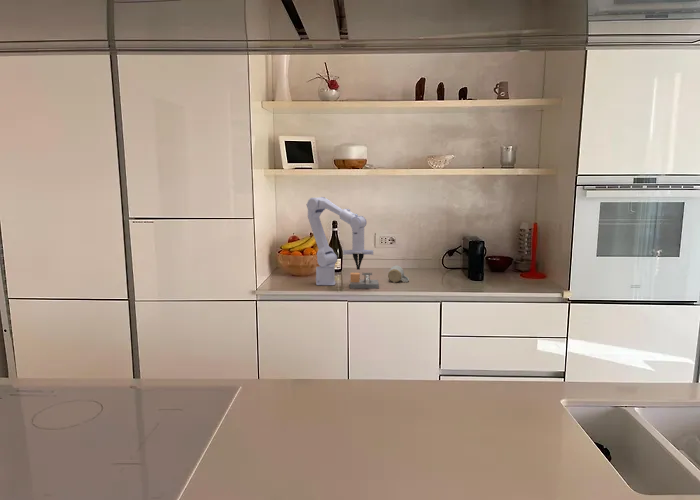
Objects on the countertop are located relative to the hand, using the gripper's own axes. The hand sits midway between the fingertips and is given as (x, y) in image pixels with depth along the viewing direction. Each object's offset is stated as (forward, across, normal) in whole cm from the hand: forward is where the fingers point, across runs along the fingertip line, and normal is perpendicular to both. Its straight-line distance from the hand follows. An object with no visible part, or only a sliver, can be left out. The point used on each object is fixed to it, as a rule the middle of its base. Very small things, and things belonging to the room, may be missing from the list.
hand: (358, 269), depth 249 cm
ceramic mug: (+10, +21, +16) cm, 28 cm away
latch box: (+9, +3, +5) cm, 11 cm away
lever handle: (+7, +4, +2) cm, 9 cm away
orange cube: (+7, -2, +6) cm, 10 cm away
